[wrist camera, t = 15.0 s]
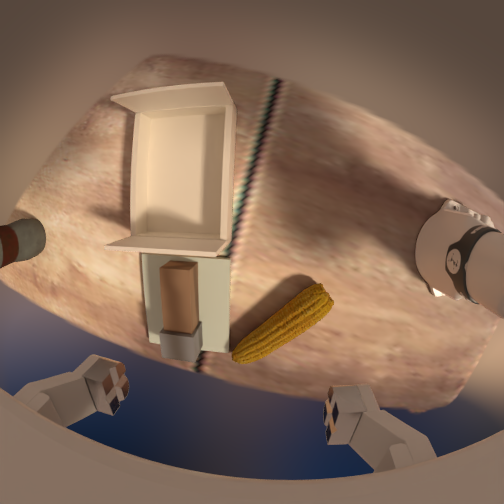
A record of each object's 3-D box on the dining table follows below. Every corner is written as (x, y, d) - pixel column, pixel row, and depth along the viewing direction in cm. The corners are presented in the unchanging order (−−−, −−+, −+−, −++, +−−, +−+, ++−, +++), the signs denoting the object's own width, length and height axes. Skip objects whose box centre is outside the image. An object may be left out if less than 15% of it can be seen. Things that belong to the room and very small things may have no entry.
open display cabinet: (237, 109, 41) (223, 80, 28) (231, 240, 46) (215, 258, 33) (148, 115, 42) (111, 94, 29) (143, 236, 47) (104, 251, 34)
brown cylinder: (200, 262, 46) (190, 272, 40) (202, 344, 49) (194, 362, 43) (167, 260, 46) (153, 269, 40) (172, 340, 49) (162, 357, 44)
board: (231, 257, 46) (230, 259, 45) (229, 349, 50) (228, 353, 49) (144, 252, 47) (141, 253, 46) (152, 339, 51) (149, 342, 50)
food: (314, 274, 46) (320, 285, 40) (334, 296, 47) (341, 310, 41) (227, 345, 50) (222, 362, 44) (247, 363, 51) (244, 381, 45)
